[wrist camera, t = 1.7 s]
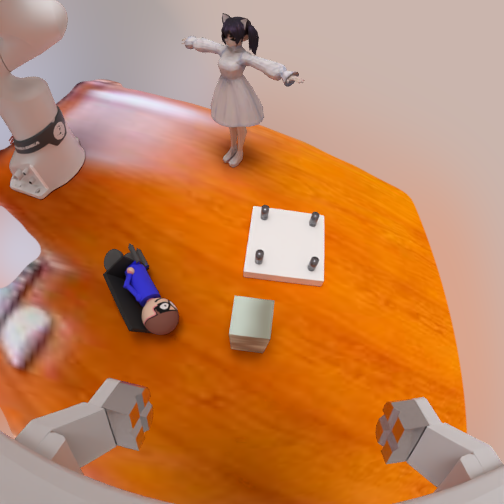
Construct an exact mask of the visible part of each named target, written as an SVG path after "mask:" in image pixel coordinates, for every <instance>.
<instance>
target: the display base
mask: <svg viewBox="0 0 504 504" xmlns="http://www.w3.org/2000/svg"><path fill="white" fill-rule="evenodd" d="M243 277H249V278H257V279H264V280H272V281H280V282H289V283H297V284H305V285H314V286H321V285H322V283H323V282H324V216H323V215H319V213H317V212H313V213H312V214H309V213H302V212H295V211H288V210H280V209H273V208H269V206H267V205H263V206H262V207H257V206H253V212H252V219H251V225H250V232H249V239H248V245H247V252H246V259H245V266H244V274H243Z"/></svg>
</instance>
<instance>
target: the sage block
mask: <svg viewBox="0 0 504 504" xmlns="http://www.w3.org/2000/svg"><path fill="white" fill-rule="evenodd" d="M273 309H274V301H273V300H264V299H257V298H249V297H241V296H235V298H234V304H233V311H232V317H231V324H230V330H229V338H230V345H231V349H234V350H242V351H249V352H257V353H263V352H264V350H265V348H266V346H267V345H268V343H269V341H270V337H271V328H272V318H273Z"/></svg>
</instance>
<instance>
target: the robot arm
mask: <svg viewBox="0 0 504 504" xmlns="http://www.w3.org/2000/svg"><path fill="white" fill-rule="evenodd" d="M67 22H68V18H67V12H66V10H65V8H64V7H63V5H62V4H60V3H59V2H57V1H55V0H0V116H1V117H2V119H3V120H4V122H5V123H6V125H7V126H8V128H9V130H10V131H11V133H12V135H13V136H12V137H11V138H10V140H11V139H12V138H13V139H12V140H11V143H12V142H13V141H14V145H15V151H14V154H13V156H12V158H11V161H10V165H9V167H10V171H11V172H12V174H13V176H12V179H11V182H10V187H11V189H13V190H16V191H18V192H21V193H24V194H27V195H30V196H32V197H35V198H38V199H43V198H45V197H46V196H47V195H48V194H49V193H50V192H51V191H53V190H54V189H56V188H58V187H60V186H62V185H64V184H65V183H66V182H68V181H69V180H70V179H71V178H72V177H73V176H74V175H75V174H76V173H77V172H78V171H79V169H80V168H81V166H82V165H83V162H84V159H85V151H84V149H83V148H82V147H81V146H80V143H79V139H78V138H77V137H74V135H73V133H72V132H71V130H70V128H69V127H68V125H67V123H66V122H65V120H64V117H63V115H62V112H61V110H60V109H59V107H58V106H56V104H55V102H54V99H53V97H52V94H51V92H50V89H49V87H48V84H47V82H46V81H45V80H43V79H41V78H39V77H26V78H18V77H15V76H13V75H12V74H11V73H10V72H11V71H13V70H14V69H16V68H17V67H19V66H21V65H22V64H24V63H26V62H28V61H29V60H31V59H33V58H34V57H36V56H38V55H40V54H42V53H43V52H44V51H46V50H47V49H48V48H50V47H51V46H52V45H54V44H55V43H57V42H58V41H59V40H61V39H62V37H63V35H64V33H65V31H66V27H67ZM10 140H9V141H10ZM11 143H10V144H11ZM150 397H151V395H150V390H149V388H147V387H144V386H140V385H136V384H132V383H128V382H124V381H119V380H116V379H112V378H108V379H106V380H105V382H104V383H103V384H102V385H101V387H100V388H99V389H98V391H97V392H96V393H95V394H94V396H93V397H92V398H91V399H90V401H89V402H88V403H86V402H83V403H80V404H77V405H75V406H72V407H69V408H66V409H63V410H60V411H57V412H54V413H51V414H48V415H45V416H42V417H39V418H36V419H33V420H31V421H30V422H29V424H28V425H27V426H26V427H25V428H24V429H23V430H22V431H21V432H20V434H19V435H18V436H17V437H16V438H15V439H12V438H11V437H9V436H8V435H6V434H4V433H3V432H2V431H0V504H174V503H170V502H165V501H161V500H157V499H153V498H149V497H146V496H142V495H138V494H135V493H132V492H129V491H125V490H122V489H119V488H116V487H113V486H110V485H108V484H105V483H102V482H100V481H97V480H94V479H92V478H89V477H87V476H84V474H83V472H82V470H81V469H80V468H81V467H83V466H84V465H86V464H88V463H90V462H91V461H93V460H95V459H96V458H98V457H100V456H101V455H103V454H105V453H106V452H108V451H109V450H111V449H113V448H114V447H116V445H119V446H122V447H126V448H130V449H134V450H138V451H139V450H140V448H141V445H142V443H143V441H144V439H145V436H144V432H145V431H147V430H149V429H150V426H151V424H152V420H153V407H152V405H151V404H150V402H149V399H150ZM383 412H384V415H383V416H382V417H381V418H380V419H379V420H378V423H377V425H376V438H377V441H378V443H379V444H381V445H382V446H383V448H382V450H381V452H382V455H383V458H384V461H385V463H386V464H391V463H397V462H404V461H407V463H408V464H409V465H411V466H412V467H413V468H414V469H415V470H417V471H418V472H419V473H420V474H421V475H423V476H424V477H425V478H426V479H428V480H429V481H430V482H431V483H432V484H434V485H435V486H436V487H437V489H436V490H435V491H434V493H432V494H429V495H426V496H422V497H418V498H415V499H411V500H407V501H403V502H399V503H394V504H504V465H503V464H502V462H501V461H500V459H499V458H498V456H497V454H496V453H495V451H494V450H493V448H492V447H491V446H490V445H489V444H486V443H484V442H482V441H480V440H478V439H476V438H474V437H472V436H470V435H468V434H466V433H464V432H462V431H460V430H458V429H456V428H454V427H453V426H451V425H449V424H447V423H442V422H441V421H440V419H439V418H438V416H437V415H436V413H435V411H434V410H433V408H432V407H431V405H430V404H429V402H428V401H427V399H426V398H424V397H420V398H413V399H407V400H399V401H390V402H387V403H386V404H385V405H384V408H383Z"/></svg>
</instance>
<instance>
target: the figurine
mask: <svg viewBox="0 0 504 504" xmlns="http://www.w3.org/2000/svg"><path fill="white" fill-rule="evenodd" d="M222 22H223V28H222V40H223V42H224V43H225V44H226V43H227V45H228V46H224V45H221V44H218V43H216V42H214V41H211V40H209V39H206V38H198V39H197V38H196V37H194V36H190V37H188V38H185V39H183V40H182V41H185V43H182V44H185V46H186V48H188V49H193V48H195V49H196V50H197V51H200V52H211V53H215V54H219V55H220V57H221V58H220V60H219V62H218V67H219V69H220V72H221V76H220V78H219V81H218V83H217V86H216V88H215V91H214V95H213V99H212V102H211V116H212V118H213V120H214V121H216V122H217V123H218V124H220V125H223V126H226V127H229V128H230V134H231V148H230V150H229V151H228V153H227V154H225V155H224V157H223V161H224V162H225V163H229V165H230V166H231V167H236V166H237V165H238V164H239V163H240V162H241V161H242V158H243V149H242V148H243V144H244V141H245V137H246V133H247V130H246V127H248V126H254V125H258V124H259V123H260V122H262V120H263V118H264V115H263V106H262V104H261V102H260V100H259V98H258V97H257V95H256V93H255V92H254V90H253V88H252V87H251V85H250V84H249V82H248V81H247V80H246V78H245V77H244V75H243V71H244V69H245V67H246V66H251V67H253V68H256V69H258V70H260V71H262V72H263V73H264V74H265V75H267V76H268V77H269V78H271V79H273V80H280V79H281V78H282V80H283V82H284V85H285V86H291V85H292V84H293V83H294V82H295V81H296V82H298V83H301V82H302V81H304V80H303V79H301V78H299V77H298V76H299V73H298V72H292V71H287V69H286V68H285V66H284V65H282V64H280V63H277V62H274V61H270V60H267V59H263V58H260V57H257V56H254V55H251V54H250V53H249V52H247V51H246V50H245V49H244V48H243V47H242V42H243V41H246V40H248V39H249V48H250V49H251V50H252V52H253V53H254V54H255V55H256V50H257V47H258V39H259V37H258V33H257V31H256V30H255V28H254V27H253V26H252V25H251V22H250V21H249V20H248V19H246V18H242V17H233V18H231V17H230V16H229V15H227V14H224V13H223V16H222ZM302 83H303V82H302ZM237 135H238V149H237V144H236V141H237Z"/></svg>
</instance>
